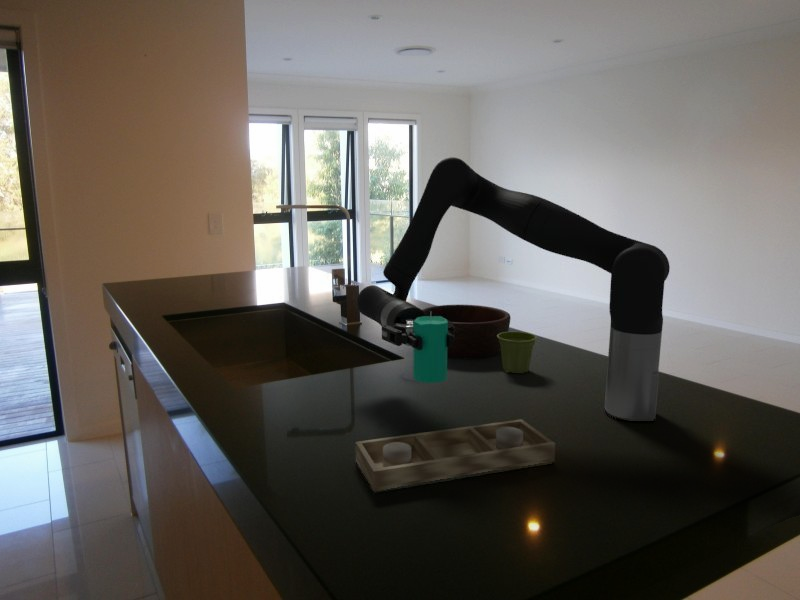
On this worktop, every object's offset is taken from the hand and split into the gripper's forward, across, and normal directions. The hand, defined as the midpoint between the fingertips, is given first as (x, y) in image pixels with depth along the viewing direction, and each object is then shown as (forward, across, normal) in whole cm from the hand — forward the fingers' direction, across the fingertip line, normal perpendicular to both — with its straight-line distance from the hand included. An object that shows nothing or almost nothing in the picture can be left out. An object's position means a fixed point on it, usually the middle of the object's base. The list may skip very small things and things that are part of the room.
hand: (435, 342), depth 101 cm
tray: (+10, 0, +18) cm, 20 cm away
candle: (-3, 0, +7) cm, 8 cm away
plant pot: (-31, +34, +18) cm, 49 cm away
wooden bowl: (-53, +29, +18) cm, 63 cm away
